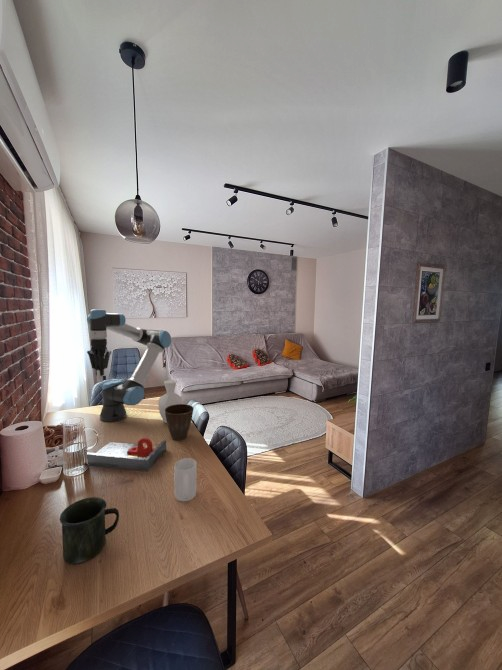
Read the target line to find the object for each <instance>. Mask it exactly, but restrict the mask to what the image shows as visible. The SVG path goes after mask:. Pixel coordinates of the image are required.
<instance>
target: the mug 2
mask: <svg viewBox="0 0 502 670" xmlns="http://www.w3.org/2000/svg"><path fill="white" fill-rule="evenodd" d="M197 464H198V463H197V461H196V460H195V459H193V458H191V457H187V458H186V457H185V458H181V459H179V460H177V461H176V462H175V464H174V473H173V483H174V499H176V500H177V501H179V502H188V501H191V500H192V499H194V498H195V497H196V495H197Z"/></svg>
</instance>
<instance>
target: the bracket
mask: <svg viewBox="0 0 502 670" xmlns="http://www.w3.org/2000/svg"><path fill="white" fill-rule="evenodd" d="M136 444H137V447H132V448H130V449H129V450H128V451H127V454H136V455H146V456H148V455H149V454H150V453H151V452H152V451H153V450H154V449H153V448H152V446H153V443H152V440H151V439H150V438H148V437H142V438H141V439H139V440H138V442H137V443H136ZM144 444H145V445H147V448H145V447H143V445H144Z"/></svg>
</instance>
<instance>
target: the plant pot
mask: <svg viewBox="0 0 502 670" xmlns="http://www.w3.org/2000/svg"><path fill="white" fill-rule="evenodd" d="M193 413H194V406H192V405H190V404H184V403H182V404H177V405H172V406H169V407H167V408H166V409H165V415H166V421H167V423H166V425H167V427H168V431H169V433H170V436H171V439H172V440H173V441H182V440H185V439H186V437H187V435H188V433H189V430H190V426H191V424H192V420H193Z"/></svg>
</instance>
